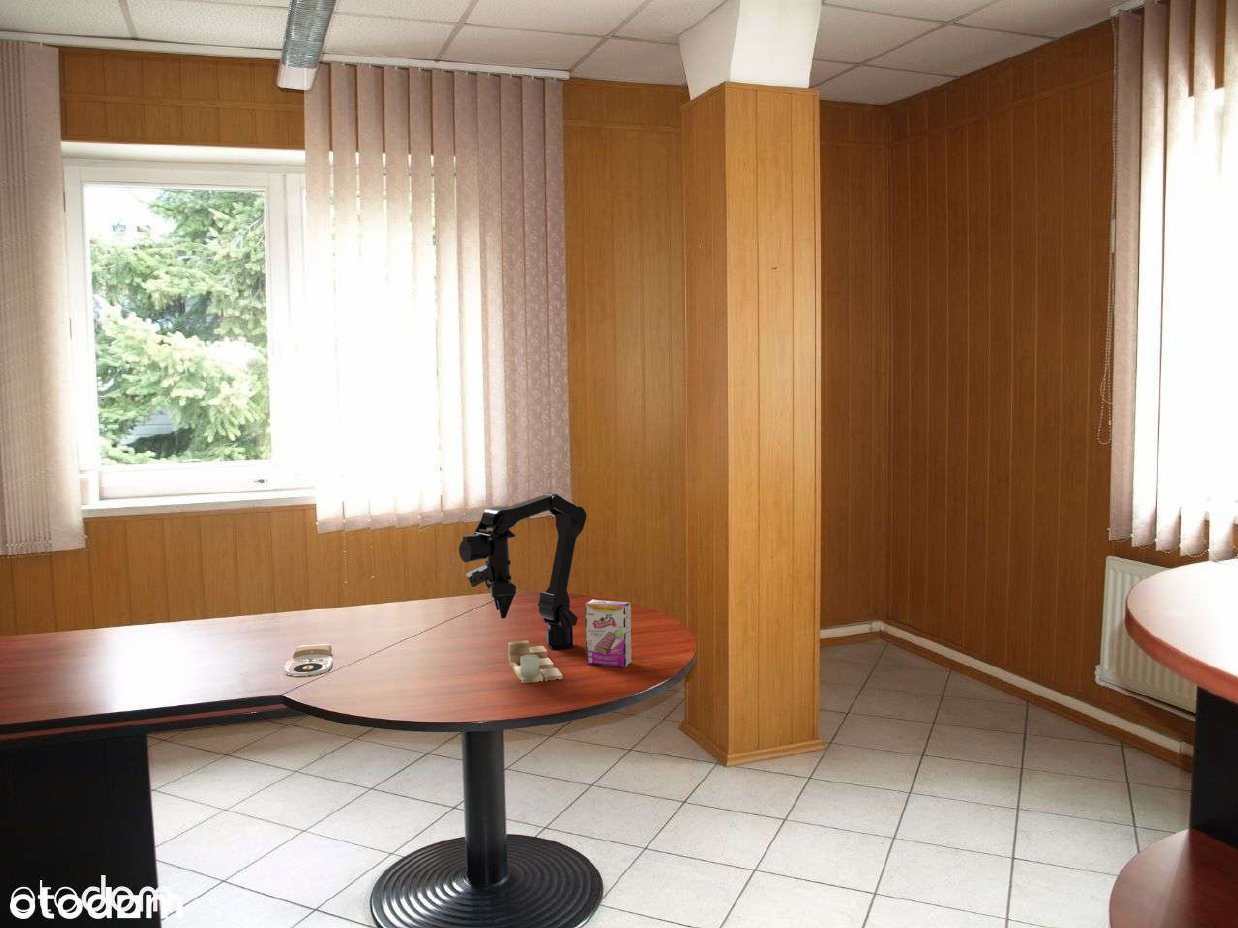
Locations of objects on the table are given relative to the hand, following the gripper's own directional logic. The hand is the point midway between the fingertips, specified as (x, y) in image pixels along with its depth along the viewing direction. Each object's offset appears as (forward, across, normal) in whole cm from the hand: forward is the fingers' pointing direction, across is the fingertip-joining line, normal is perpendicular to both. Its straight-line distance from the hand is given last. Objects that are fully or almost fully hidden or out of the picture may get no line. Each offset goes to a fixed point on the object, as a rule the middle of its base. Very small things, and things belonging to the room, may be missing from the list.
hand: (501, 613), depth 278 cm
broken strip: (+13, +9, +9) cm, 18 cm away
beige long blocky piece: (+13, +12, +4) cm, 18 cm away
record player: (+13, -12, -50) cm, 53 cm away
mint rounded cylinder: (+12, +18, +4) cm, 22 cm away
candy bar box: (+13, +12, +26) cm, 32 cm away
